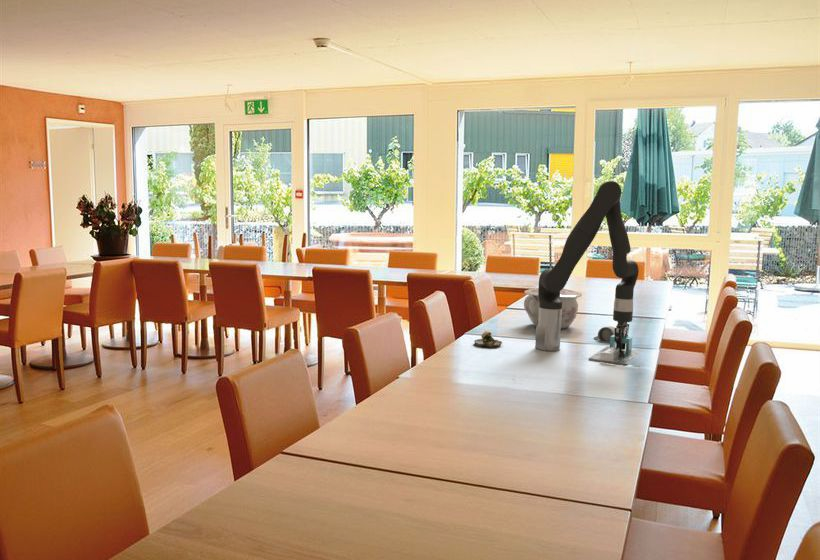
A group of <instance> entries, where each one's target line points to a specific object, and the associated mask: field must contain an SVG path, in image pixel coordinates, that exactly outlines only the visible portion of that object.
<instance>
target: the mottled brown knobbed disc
mask: <svg viewBox="0 0 820 560" xmlns="http://www.w3.org/2000/svg"><path fill="white" fill-rule="evenodd" d="M502 344H503V341H502V340H501V341H500V340H498V339H495V338H494V337H493V336H492V332H491V331H486V330H485V331H484V332H483V333H482V334H481V338H479V339H475V340H474V343H473V346H475V347H478V348H482V347H489V348H491V347H492V348H493V347H498V346H500V345H502Z"/></svg>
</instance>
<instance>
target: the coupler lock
mask: <svg viewBox="0 0 820 560" xmlns="http://www.w3.org/2000/svg"><path fill="white" fill-rule="evenodd" d="M618 339H620V337H618ZM622 343H625V344H626V345H625V349H626V354H629V353H630V352H631V350H633V349H632V347H633V337H632V336H629V335H628V336H625V337H624V338H623V342H622ZM609 347H610V348H611V347H615V348H616V342H615V335H612V336H611V337H610V342H609Z"/></svg>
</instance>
